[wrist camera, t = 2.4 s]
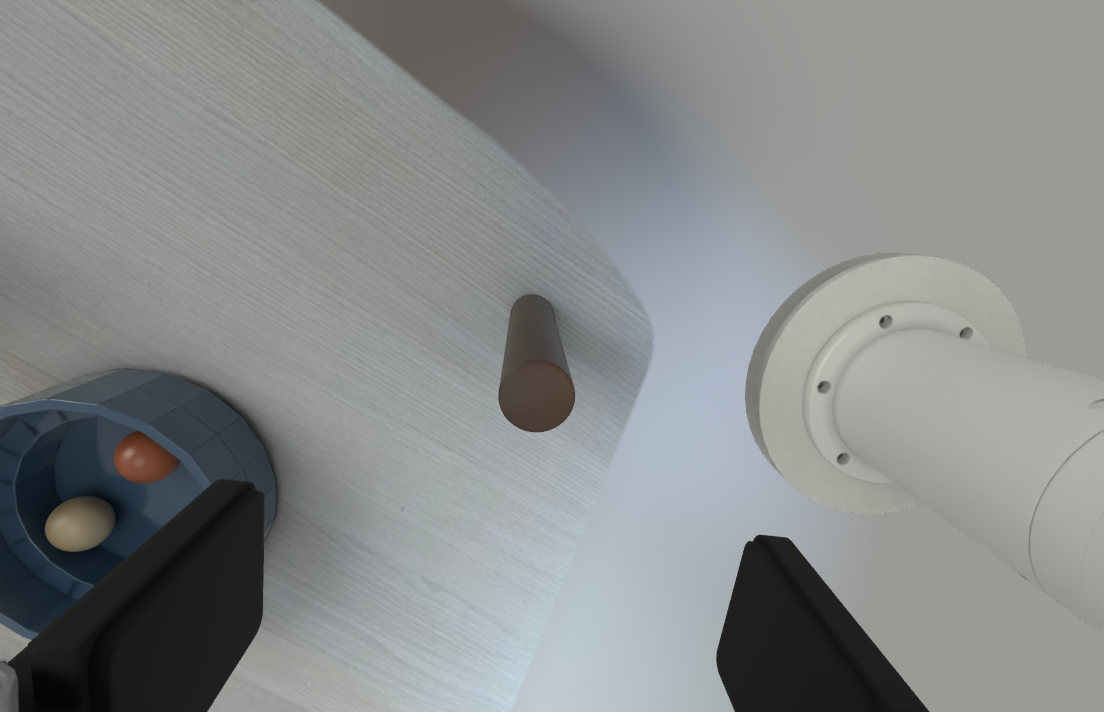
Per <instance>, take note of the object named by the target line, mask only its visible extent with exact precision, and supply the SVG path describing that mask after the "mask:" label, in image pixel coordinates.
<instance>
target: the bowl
mask: <svg viewBox="0 0 1104 712" xmlns="http://www.w3.org/2000/svg"><path fill="white" fill-rule="evenodd" d="M135 431H140V432H142V433H144V434H145V435H147V436H148V437H149V438H151V439H152V440H154V441H155V442H156V443H158V444H159V445H160V446H162V447H163V448H164V449H166V450H167V451H168V452H170V453H171V454H172V455H174V456H175V457H176V458H178V459H179V460H181V461H180V464H179V465H178V467H177V468H176V470H175V471H174V472H173V473H172V474H171V475H169V476H168V477H166V478H165V479H163V480H160V481H158V482H154V483H147V484H140V483H135V482H131V481H129V480H127V479H125V478H124V477H123V476H121V475H120V474H119V472H118V471H117V469H116V467H115V464H114V453H115V450H116V448H117V446H118V444H119V443H120V442H121V441H122V440H123V439H124V438H125V437H126V436H127V435H129V434H130V433H132V432H135ZM218 479H227V480H237V481H247V482H252V483H253V484H254V485H255V488H256V491H262V492H263V494H264V542H265V540H266V538H267V535H268V533H269V531H270V528H271V526H272V524H273V521H274V519H275V501H276V481H275V478H274V475H273V472H272V469H271V466H270V463H269V460H268V457H267V454H266V451H265V448H264V447H263V445H262V444H261V443H260V441H259V440H258V438H257V437H256V436H255V434H254V433H253V431H252V430H251V429H250V427H249V426H248V425H247V423H246V422H245V420H244V419H243V418H242V417H241V416H240V415H239V414H238V413H237V412H235V411H234V410H233V409H231V408H230V407H229V406H228V405H226V404H225V403H224V402H222V401H221V400H220V399H219V398H217V397H216V396H215V395H213V394H212V393H211V392H210V391H208V390H206V389H204V388H201V387H199V386H196V385H194V384H192V383H189V382H187V381H184V380H182V379H180V378H177V377H175V376H172V375H170V374H167V373H159V372H151V371H143V370H135V369H127V368H125V369H117V370H111V371H105V372H99V373H93V374H87V375H83V376H81V377H78V378H75V379H72V380H70V381H67V382H64V383H62V384H59V385H56V386H53V387H51V388H48V389H45V390H43V391H40V392H37V393H35V394H32V395H29V396H26V397H24V398H21V399H18V400H16V401H13V402H10V403H8V404H5V405H2V406H0V623H1V624H3V625H4V626H6V627H8V628H9V629H11V630H12V631H14V632H16V633H17V634H19V635H21V636H22V637H25V638H28V639H31V640H33V639H34V638H35V637H36V636H38V635H39V634H40V633H41V632H42V631H43V630H44V629H46V628H47V627H48V626H49V625H50V624H51V623H52V622H54V621H55V620H56V619H57V618H58V617H59V616H61V615H62V614H63V613H64V612H65V611H66V610H67V609H69V608H70V607H71V606H72V605H73V604H74V603H76V602H77V601H78V600H79V599H80V598H81V597H82V596H84V595H85V594H86V593H87V592H88V591H89V590H90V589H92V588H93V587H94V586H95V585H96V584H97V583H99V582H100V581H101V580H102V579H103V578H104V577H105V576H107V575H108V574H109V573H110V572H111V571H112V570H113V569H115V568H116V567H117V566H118V565H119V564H120V563H122V562H123V561H124V560H125V559H126V558H127V557H128V556H130V555H131V554H132V553H133V552H134V551H135V550H136V549H138V548H139V547H140V546H141V545H142V544H143V543H145V542H146V541H147V540H148V539H149V538H150V537H151V536H153V535H154V534H155V533H156V532H157V531H158V530H159V529H161V528H162V527H163V526H164V525H165V524H166V523H168V522H169V521H170V520H171V519H172V518H173V517H174V516H176V515H177V514H178V513H179V512H180V511H181V510H182V509H184V508H185V507H186V506H187V505H188V504H189V503H191V502H192V501H193V500H194V499H195V498H196V497H197V496H199V495H200V494H201V493H202V492H203V491H204V490H206V489H207V488H208V487H209V486H210V485H211V484H212V483H214V482H215V481H216V480H218ZM81 496H93V497H98V498H101V499H103V500H105V501H106V502H108V503H109V504H110V505H111V506H112V508H113V510H114V512H115V516H116V520H115V525H114V528H113V530H112V532H111V534H110V535H109V536H108V537H107V538H106V539H105V540H104V541H103V542H102V543H100V544H99V545H97V546H95V547H93V548H91V549H88V550H84V551H79V552H68V551H63V550H60V549H58V548H56V547H55V546H53V545H52V544H51V543H50V542H49V540H48V539H47V537H46V533H45V525H46V521H47V519H48V517H49V515H50V514H51V513H52V511H53V510H54V509H55V508H56V507H58V506H59V505H60V504H62V503H63V502H65V501H67V500H70V499H72V498H76V497H81Z"/></svg>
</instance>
